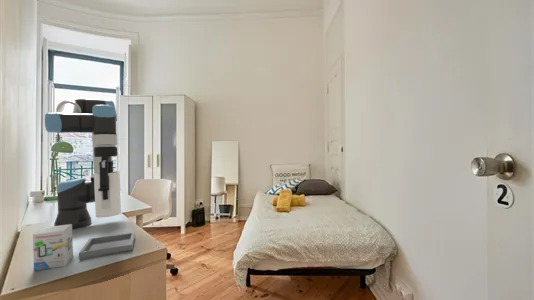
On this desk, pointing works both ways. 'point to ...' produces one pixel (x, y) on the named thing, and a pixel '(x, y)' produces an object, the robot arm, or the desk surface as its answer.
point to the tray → (107, 245)
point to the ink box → (52, 247)
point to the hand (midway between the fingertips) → (108, 206)
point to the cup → (114, 196)
